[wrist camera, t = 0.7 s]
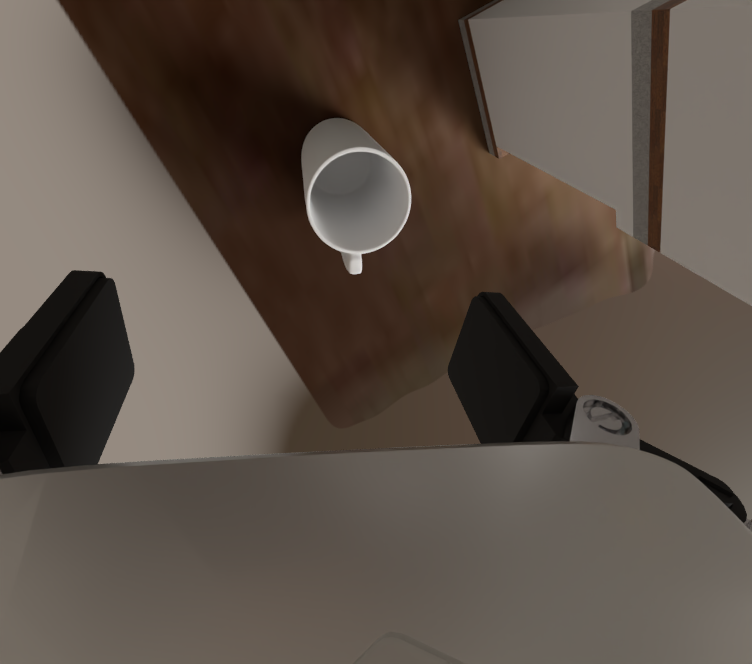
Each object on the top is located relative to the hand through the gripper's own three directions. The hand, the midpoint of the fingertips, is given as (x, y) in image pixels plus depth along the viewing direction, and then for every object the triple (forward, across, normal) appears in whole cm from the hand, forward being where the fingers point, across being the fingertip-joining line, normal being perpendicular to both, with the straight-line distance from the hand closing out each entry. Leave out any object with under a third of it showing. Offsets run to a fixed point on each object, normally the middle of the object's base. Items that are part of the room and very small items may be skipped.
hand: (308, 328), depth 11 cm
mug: (+28, -4, +4) cm, 29 cm away
